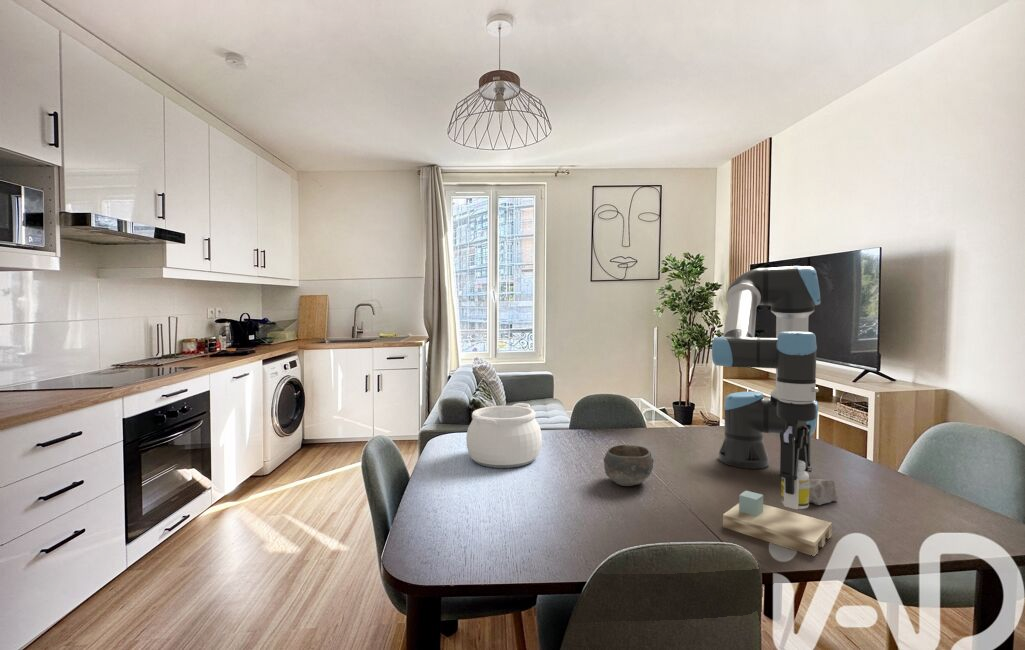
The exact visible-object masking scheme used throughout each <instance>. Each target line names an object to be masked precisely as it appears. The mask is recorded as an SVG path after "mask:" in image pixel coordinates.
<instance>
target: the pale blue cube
mask: <svg viewBox="0 0 1025 650" xmlns="http://www.w3.org/2000/svg"><path fill="white" fill-rule="evenodd" d="M738 497H739V498H738V501H739V502H738V503H739V512H743V513H746V514H750V515H753V516H758V515H759V514H761V513H762V512H763V504H764V494H762V493H758V492H754V491H753V492H752V491H750V490H744V491H743V492H742V493H740V494H739V495H738Z"/></svg>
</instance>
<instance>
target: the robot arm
mask: <svg viewBox="0 0 1025 650" xmlns="http://www.w3.org/2000/svg"><path fill="white" fill-rule="evenodd" d="M818 279H819V277H818V275H817V270H816V268H815V267H813V266H810V265H808V266H807V265H804V266H803V265H802V266H801V265H793V266H792V265H791V266H778V267H758V268H754V269H751V270H748V271H746V272H744V273H742V274H740V275H739V276H738V277H737V278H736V279H735V280H733V281H732V282H731V284H730V285H729V286H728V289H727V291H726V295H725V300H726V303H727V311H726V317H725V322H724V329H723V334H722V336H717V337H714V338H713V340H712V343H711V358H712V359H711V360H712V363H713V365H715V366H719V367H727V368H756V369H757V368H758V369H759V368H760V369H774V370H775V388H774V389H773V390H772V391H770V397H765V396H764V394H763V392H761V391H752V390H751V391H740V392H739V391H737V392H734V393H733V392H732V393H729V394H728V395H726V396H725V398H724V406H723V410H724V430H723V431H724V432H723V433H724V435H723V436H724V438H723V439H722V443H721V445H720V446H721V447H720V448H719V451H718V460H719V461H720V462H721V463H723V464H725V465H728V466H731V467H736V468H741V469H754V470H756V469H763V468H767V467H769V466H770V464H769V463H770V461H769V460H770V459H769V455H768V451H767V449H766V446H765V443H764V434H769V435H770V434H773V435H779V440H780V451H779V452H780V453H779V455H780V457H779V458H780V461H779V472H780V473H778V477H779V478H781V477H783V478H784V504H783V507H786V508H790V509H793V510H798V497H799V479H797V470H798V460H801V461H804V462H805V463H806V469H805V470H804V471H806V472H807V473H812V467H811V465H812V464H811V436H813V435H814V433H815V430H816V427H817V422H818V413H819V403H818V401H817V399H816V396H817V393H819V391H820V389H819V388H818V387H816V386H817V385H816V383H817V377H816V376H817V374H816V373H817V350H818V345H817V337H816V334H815V333H813V332H811V331H809V319H810V318H809V316H810V315H812V314H813V313H814V312H815V306H818V305H820V304H821V291H820V290H821V289H820V285H819V280H818ZM758 306H770V312H771V313H772V314H774V315H775V316H776V319H775V320H776V321H775V322H776V323H775V324H776V325H775V333H776V334H775V337H755V335H756V321H757V318H756V317H757V307H758Z"/></svg>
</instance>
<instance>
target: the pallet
mask: <svg viewBox="0 0 1025 650" xmlns="http://www.w3.org/2000/svg"><path fill="white" fill-rule="evenodd" d="M722 528H724V529H728V530H730V531H733V532H736V533H741V534H743V535H746V536H749V537H753V538H755V539H758V540H762V541H765V542H768V543H771V544H774V545H777V546H781V547H784V548H787V549H790V550H792V549H793V551H795V550H796V552H798V551H799V553H802V554H805V555H808V556H811V555H812V556H811V557H814V556H815V555H816V554H817V555H818V553H819V548H821V547H822V548H824V546H825V545H826V540H830V539H829V538H831V537H832V536H833V534H832V533H833V523H832V522H831V521H826V520H823V519H819V518H816V517H812V516H808V515H805V514H801V513H797V512H794V511H790V510H786V509H783V508H778V507H776V506H771V505H767V504H764V503H763V512H762V513H761V514H759V515H758V516H753V515H750V514H746V513H743V512H739V502H738V503H737V504H736V505H734V506H732V508H730V509H729V510H727V511H726V512H724V513H722ZM826 538H827V539H826ZM818 546H819V547H818ZM817 555H816V556H817ZM816 556H815V557H816Z"/></svg>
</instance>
